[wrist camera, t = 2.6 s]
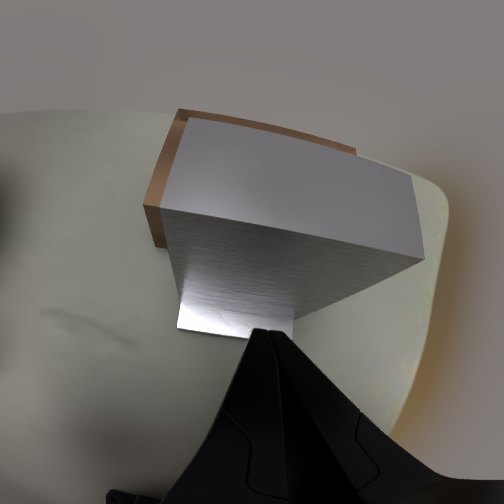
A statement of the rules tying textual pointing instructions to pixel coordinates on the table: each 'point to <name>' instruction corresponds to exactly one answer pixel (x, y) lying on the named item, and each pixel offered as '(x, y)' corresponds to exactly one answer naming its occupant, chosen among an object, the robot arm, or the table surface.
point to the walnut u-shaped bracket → (170, 150)
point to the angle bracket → (278, 227)
